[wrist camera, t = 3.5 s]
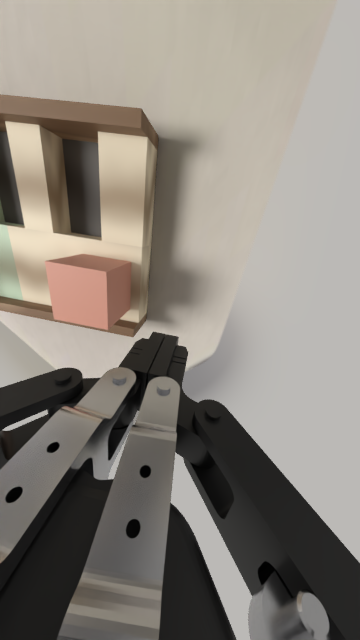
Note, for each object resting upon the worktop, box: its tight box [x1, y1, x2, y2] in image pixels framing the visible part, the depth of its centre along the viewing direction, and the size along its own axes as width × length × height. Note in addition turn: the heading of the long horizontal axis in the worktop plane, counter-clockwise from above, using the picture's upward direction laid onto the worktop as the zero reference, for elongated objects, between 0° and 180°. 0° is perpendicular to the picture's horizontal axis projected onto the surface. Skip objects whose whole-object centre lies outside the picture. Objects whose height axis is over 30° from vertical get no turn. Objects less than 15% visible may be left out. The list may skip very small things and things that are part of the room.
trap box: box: [0, 95, 158, 337], centre depth 19 cm, size 18×21×6 cm
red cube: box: [45, 254, 131, 330], centre depth 18 cm, size 5×5×5 cm
